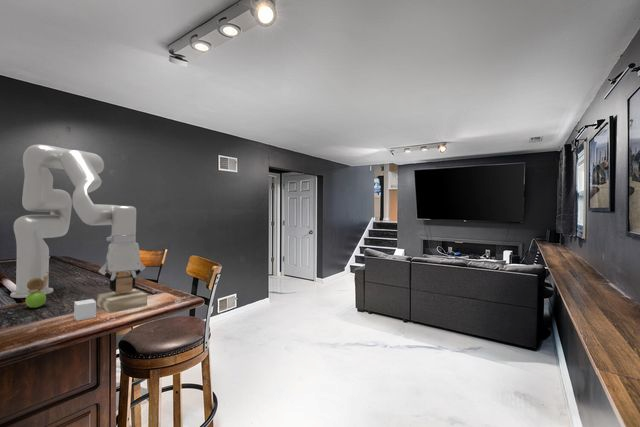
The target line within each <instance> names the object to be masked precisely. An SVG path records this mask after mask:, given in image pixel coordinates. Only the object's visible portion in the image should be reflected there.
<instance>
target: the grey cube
mask: <svg viewBox="0 0 640 427" xmlns="http://www.w3.org/2000/svg"><path fill="white" fill-rule="evenodd" d="M73 303H74V304H73V305H74V306H73V317H74V319H75V320H76V322H77V321H83V320H88V319H93V318H97V300H95V299H94V298H90V299H84V300H83V299H82V300H78V301H77V300H76V301H74V302H73Z"/></svg>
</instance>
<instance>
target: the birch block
mask: <svg viewBox="0 0 640 427" xmlns="http://www.w3.org/2000/svg"><path fill="white" fill-rule="evenodd" d="M96 296H97V298H96V307H99V308H100V309H102V310H104V311H105V312H108V313H109V314H112V313H116V312H117V313H118V312H121V311H126V310H130V309H137V308H141V307H146V306H148V293H145V292H143V291H141V290H138V289H136V288H133V289H132V291H130V292H123V293H115V292H114V291H110V292H109V291H108V292H103V293H97V295H96Z"/></svg>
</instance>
